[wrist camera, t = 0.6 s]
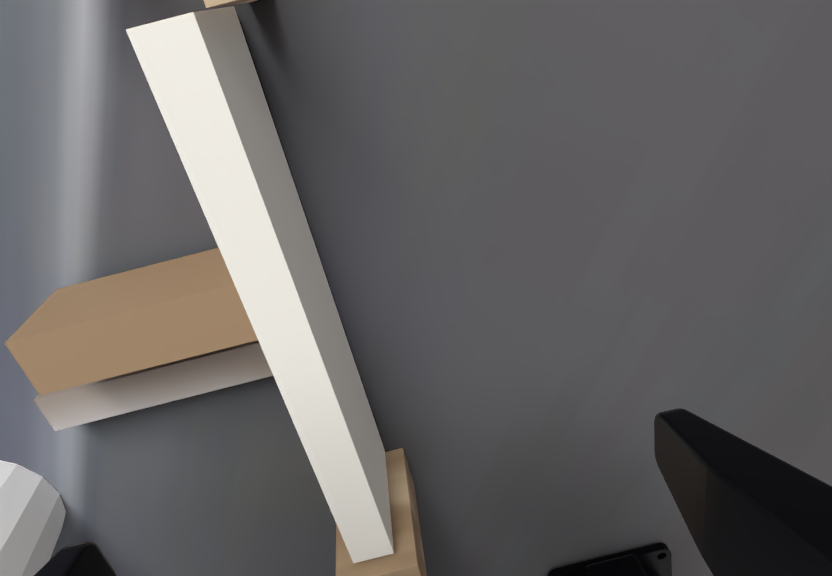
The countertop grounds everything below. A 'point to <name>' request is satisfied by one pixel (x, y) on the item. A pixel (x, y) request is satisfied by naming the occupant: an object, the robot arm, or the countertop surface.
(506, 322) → the countertop surface
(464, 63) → the countertop surface
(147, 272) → the sliding door
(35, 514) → the white grey-rimmed cylinder
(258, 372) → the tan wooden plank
